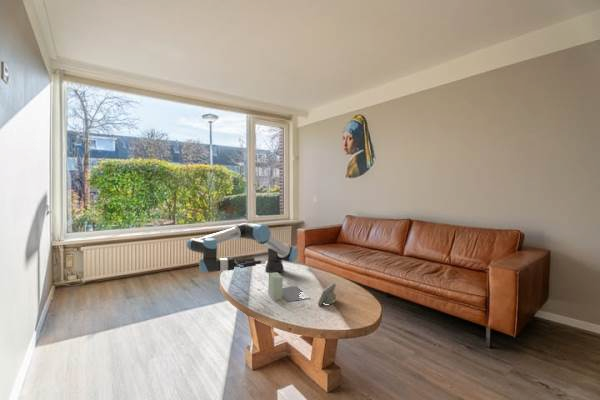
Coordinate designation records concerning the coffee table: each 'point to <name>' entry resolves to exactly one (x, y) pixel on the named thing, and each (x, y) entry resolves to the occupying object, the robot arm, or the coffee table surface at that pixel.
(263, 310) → the coffee table surface
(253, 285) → the coffee table surface
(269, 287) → the sage block
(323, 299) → the digital clock
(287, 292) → the felt pad
